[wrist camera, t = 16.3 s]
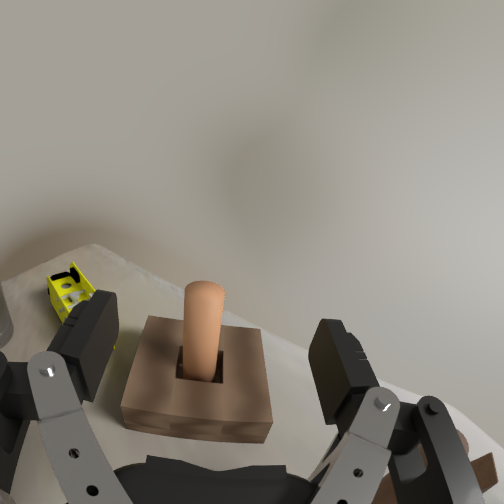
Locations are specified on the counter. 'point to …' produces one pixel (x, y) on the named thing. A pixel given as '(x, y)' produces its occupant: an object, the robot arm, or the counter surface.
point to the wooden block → (385, 494)
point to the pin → (201, 330)
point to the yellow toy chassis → (68, 291)
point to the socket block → (198, 387)
